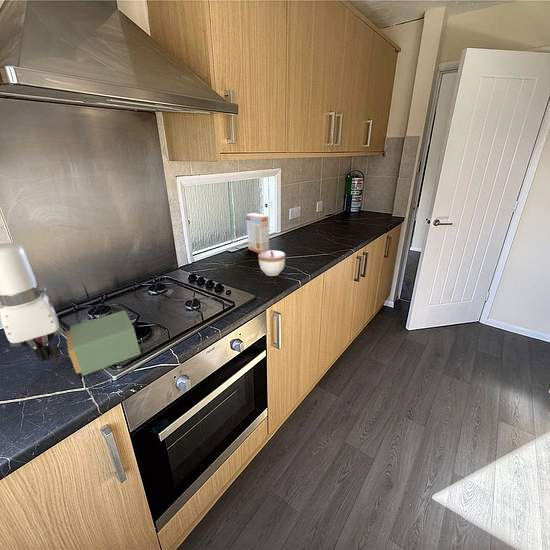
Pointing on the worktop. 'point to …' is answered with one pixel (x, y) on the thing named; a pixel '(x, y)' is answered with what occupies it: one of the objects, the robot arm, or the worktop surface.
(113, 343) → the green box
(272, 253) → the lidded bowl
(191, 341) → the worktop surface
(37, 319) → the robot arm
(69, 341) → the wooden pull-out drawer
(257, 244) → the cracker box
